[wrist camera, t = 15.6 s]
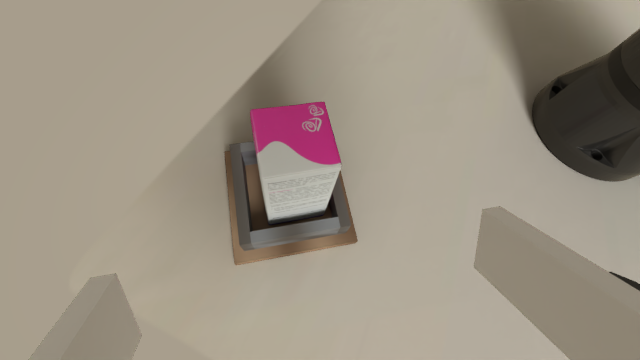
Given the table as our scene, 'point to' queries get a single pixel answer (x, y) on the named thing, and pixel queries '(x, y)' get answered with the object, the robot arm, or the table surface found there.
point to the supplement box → (295, 160)
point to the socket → (286, 238)
